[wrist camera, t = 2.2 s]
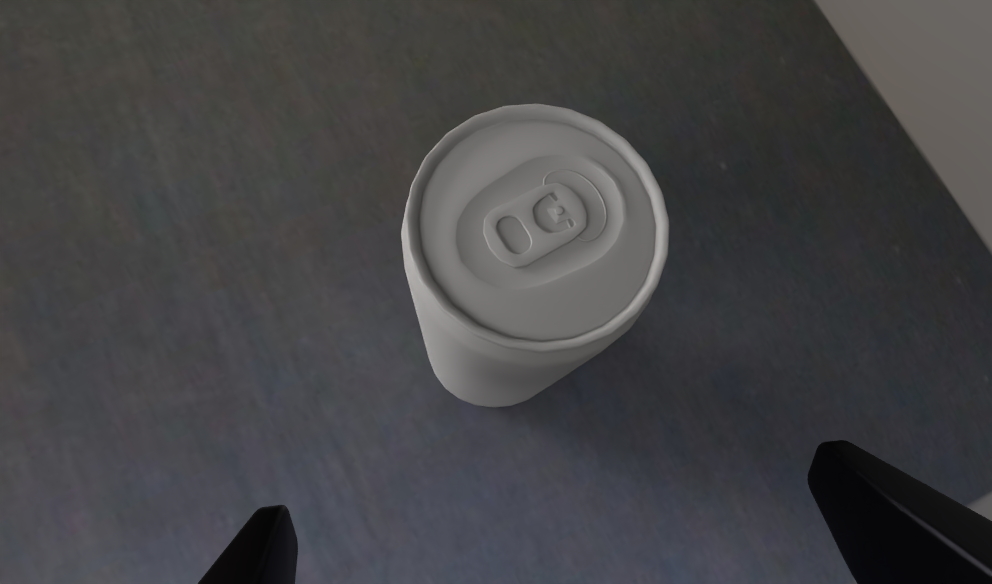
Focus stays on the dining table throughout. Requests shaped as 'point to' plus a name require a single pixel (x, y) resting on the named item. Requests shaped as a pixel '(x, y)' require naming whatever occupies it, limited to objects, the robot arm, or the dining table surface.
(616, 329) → the beverage can
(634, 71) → the dining table surface
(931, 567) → the robot arm
